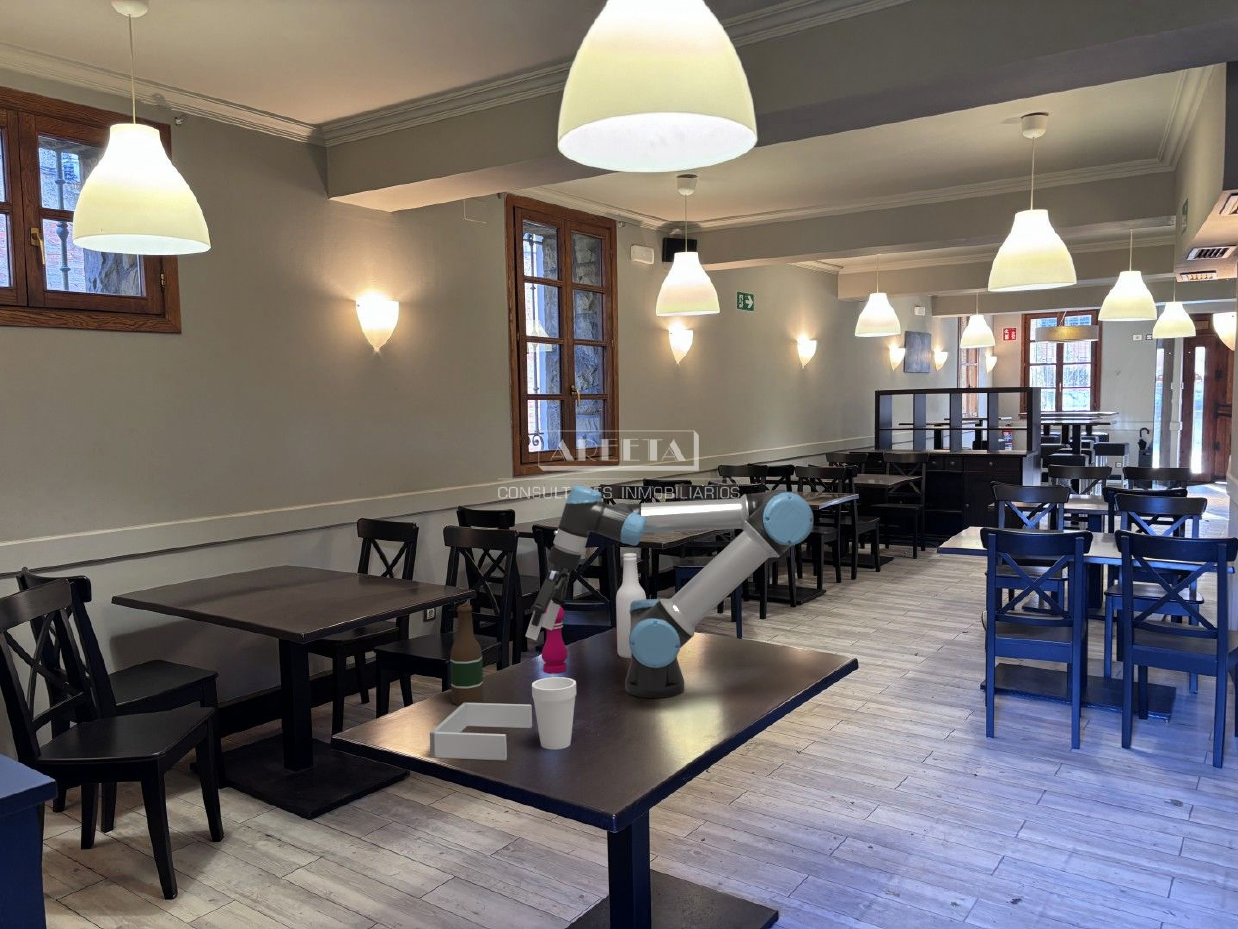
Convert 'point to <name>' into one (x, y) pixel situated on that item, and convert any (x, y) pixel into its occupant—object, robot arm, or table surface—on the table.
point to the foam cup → (554, 710)
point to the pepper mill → (555, 647)
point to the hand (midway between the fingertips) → (539, 633)
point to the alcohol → (627, 603)
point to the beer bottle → (466, 662)
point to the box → (478, 745)
